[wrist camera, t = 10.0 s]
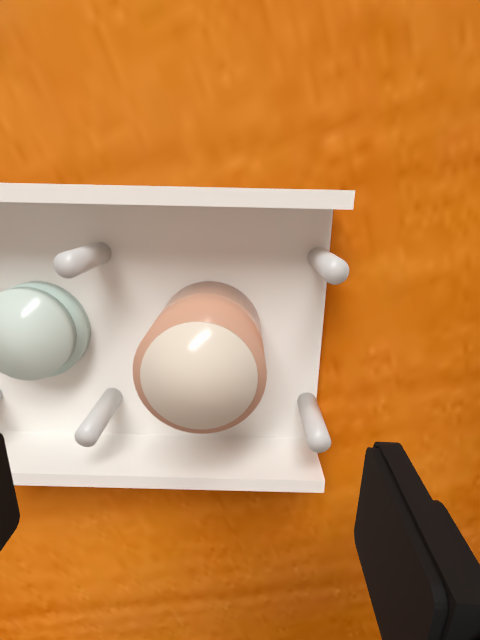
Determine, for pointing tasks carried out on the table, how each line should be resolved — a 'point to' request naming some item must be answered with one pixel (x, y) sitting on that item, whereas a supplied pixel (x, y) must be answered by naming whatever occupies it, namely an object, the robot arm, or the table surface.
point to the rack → (141, 312)
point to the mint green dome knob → (41, 331)
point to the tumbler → (202, 360)
